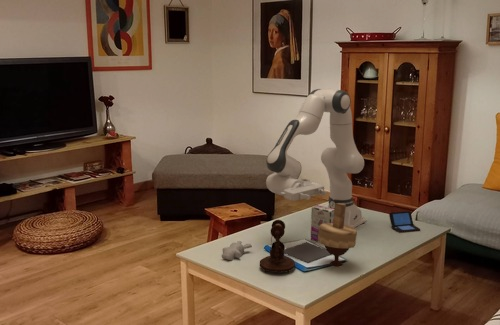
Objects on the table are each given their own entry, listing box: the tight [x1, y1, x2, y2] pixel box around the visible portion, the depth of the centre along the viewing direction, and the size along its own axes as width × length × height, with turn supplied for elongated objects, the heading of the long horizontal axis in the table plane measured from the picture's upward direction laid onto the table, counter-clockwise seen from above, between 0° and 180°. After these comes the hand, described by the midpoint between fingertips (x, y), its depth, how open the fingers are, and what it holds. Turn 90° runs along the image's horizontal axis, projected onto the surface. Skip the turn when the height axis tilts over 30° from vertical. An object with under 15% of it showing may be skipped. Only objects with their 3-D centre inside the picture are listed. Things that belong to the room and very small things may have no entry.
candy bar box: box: [310, 205, 334, 243], centre depth 255 cm, size 11×5×16 cm, turn 47°
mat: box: [284, 241, 333, 264], centre depth 243 cm, size 17×17×1 cm
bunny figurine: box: [221, 240, 252, 261], centre depth 239 cm, size 10×5×15 cm
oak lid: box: [318, 203, 358, 249], centre depth 227 cm, size 15×15×17 cm
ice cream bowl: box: [323, 245, 350, 268], centre depth 229 cm, size 11×11×15 cm
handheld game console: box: [388, 210, 421, 234], centre depth 274 cm, size 12×11×7 cm
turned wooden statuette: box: [259, 219, 296, 274], centre depth 224 cm, size 15×15×20 cm
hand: (317, 195), depth 233 cm, fingers open, 8 cm apart
